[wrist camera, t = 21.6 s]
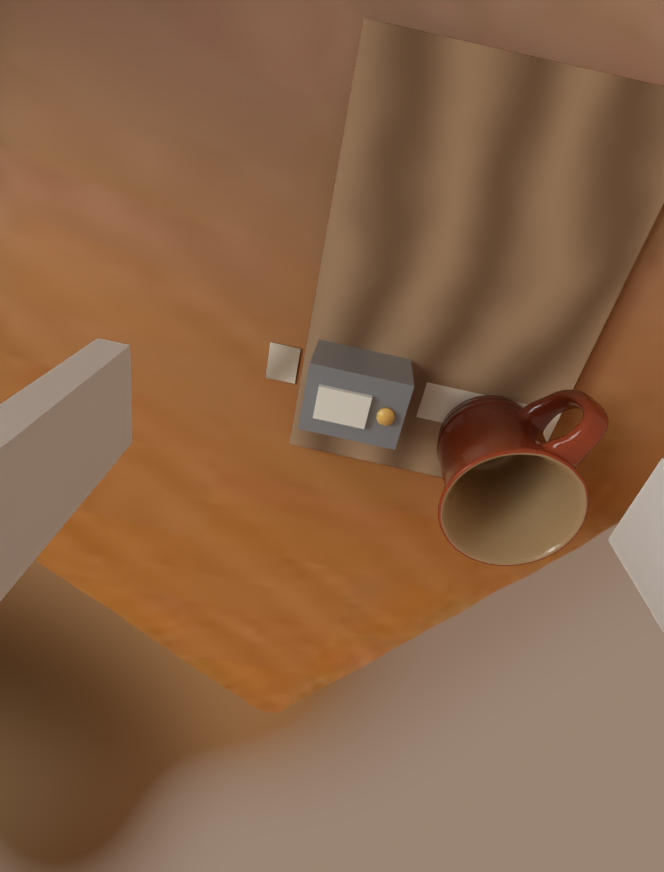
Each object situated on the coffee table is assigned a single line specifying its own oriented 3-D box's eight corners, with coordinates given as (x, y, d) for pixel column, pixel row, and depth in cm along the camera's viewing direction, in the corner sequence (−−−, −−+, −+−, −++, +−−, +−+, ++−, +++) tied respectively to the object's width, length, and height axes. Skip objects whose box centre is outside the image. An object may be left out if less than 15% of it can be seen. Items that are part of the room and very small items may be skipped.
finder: (307, 399, 38) (296, 431, 34) (318, 339, 36) (308, 365, 31) (394, 417, 38) (394, 452, 34) (410, 359, 36) (414, 388, 31)
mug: (484, 495, 41) (511, 587, 32) (403, 439, 39) (408, 520, 30) (600, 393, 36) (672, 469, 27) (514, 322, 34) (559, 378, 25)
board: (258, 429, 42) (255, 436, 40) (315, 12, 28) (312, 6, 27) (518, 486, 42) (521, 495, 41) (702, 100, 28) (715, 97, 27)
